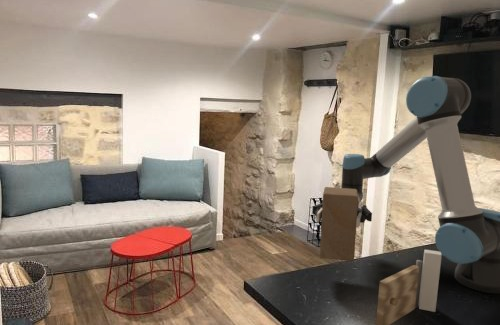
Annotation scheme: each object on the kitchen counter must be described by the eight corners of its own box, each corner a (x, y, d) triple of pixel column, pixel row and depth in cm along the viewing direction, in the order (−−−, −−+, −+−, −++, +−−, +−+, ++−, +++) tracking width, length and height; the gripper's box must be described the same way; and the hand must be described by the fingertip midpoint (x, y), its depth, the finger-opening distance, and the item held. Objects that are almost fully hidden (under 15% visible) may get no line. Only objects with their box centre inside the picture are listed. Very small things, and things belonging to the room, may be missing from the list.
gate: (409, 306, 109) (413, 264, 107) (419, 310, 107) (423, 268, 105) (375, 326, 99) (379, 281, 97) (385, 332, 96) (390, 285, 95)
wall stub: (434, 307, 108) (440, 251, 106) (435, 311, 106) (441, 255, 104) (411, 303, 110) (417, 248, 108) (411, 307, 108) (417, 251, 106)
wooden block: (353, 262, 118) (358, 196, 114) (319, 258, 120) (323, 193, 117) (353, 249, 127) (357, 188, 124) (321, 246, 129) (324, 186, 126)
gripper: (382, 217, 135) (377, 238, 114) (313, 209, 143) (298, 227, 123) (384, 196, 133) (379, 212, 113) (314, 188, 142) (299, 203, 122)
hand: (337, 220), depth 118 cm, fingers closed on wooden block, 11 cm apart
